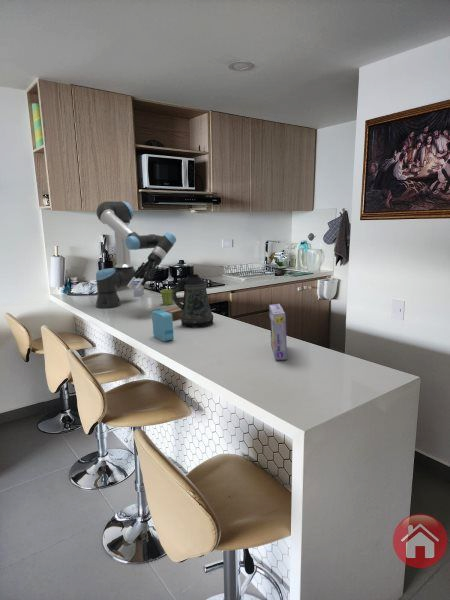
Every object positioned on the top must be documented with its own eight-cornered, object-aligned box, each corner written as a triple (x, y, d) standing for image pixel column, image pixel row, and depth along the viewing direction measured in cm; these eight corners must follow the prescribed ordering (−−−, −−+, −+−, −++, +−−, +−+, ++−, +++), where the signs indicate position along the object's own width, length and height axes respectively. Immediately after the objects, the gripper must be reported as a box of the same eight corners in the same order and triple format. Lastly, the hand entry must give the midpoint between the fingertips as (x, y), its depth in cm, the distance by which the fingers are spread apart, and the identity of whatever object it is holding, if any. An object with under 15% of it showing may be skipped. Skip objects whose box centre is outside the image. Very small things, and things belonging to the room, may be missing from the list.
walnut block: (158, 318, 213) (158, 309, 212) (175, 314, 222) (175, 305, 221) (172, 321, 205) (172, 312, 204) (189, 317, 214) (189, 308, 213)
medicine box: (136, 294, 218) (135, 278, 216) (144, 293, 218) (143, 278, 216) (133, 297, 210) (132, 281, 208) (142, 296, 210) (140, 280, 208)
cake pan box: (269, 344, 161) (269, 302, 157) (281, 344, 161) (281, 302, 157) (273, 361, 142) (273, 313, 138) (287, 361, 142) (287, 313, 138)
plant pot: (177, 302, 253) (176, 289, 251) (173, 305, 243) (173, 292, 242) (163, 302, 253) (162, 289, 252) (159, 305, 244) (158, 292, 243)
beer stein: (220, 323, 198) (218, 274, 193) (192, 331, 184) (189, 278, 179) (198, 318, 209) (195, 271, 204) (169, 326, 195) (166, 276, 190)
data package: (174, 340, 171) (172, 313, 169) (164, 342, 168) (162, 315, 166) (162, 334, 181) (160, 309, 178) (153, 336, 178) (151, 310, 176)
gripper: (171, 262, 213) (148, 295, 206) (150, 259, 228) (128, 290, 221) (163, 253, 208) (138, 286, 201) (142, 251, 224) (118, 282, 216)
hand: (133, 288), depth 211 cm, fingers closed on medicine box, 9 cm apart
